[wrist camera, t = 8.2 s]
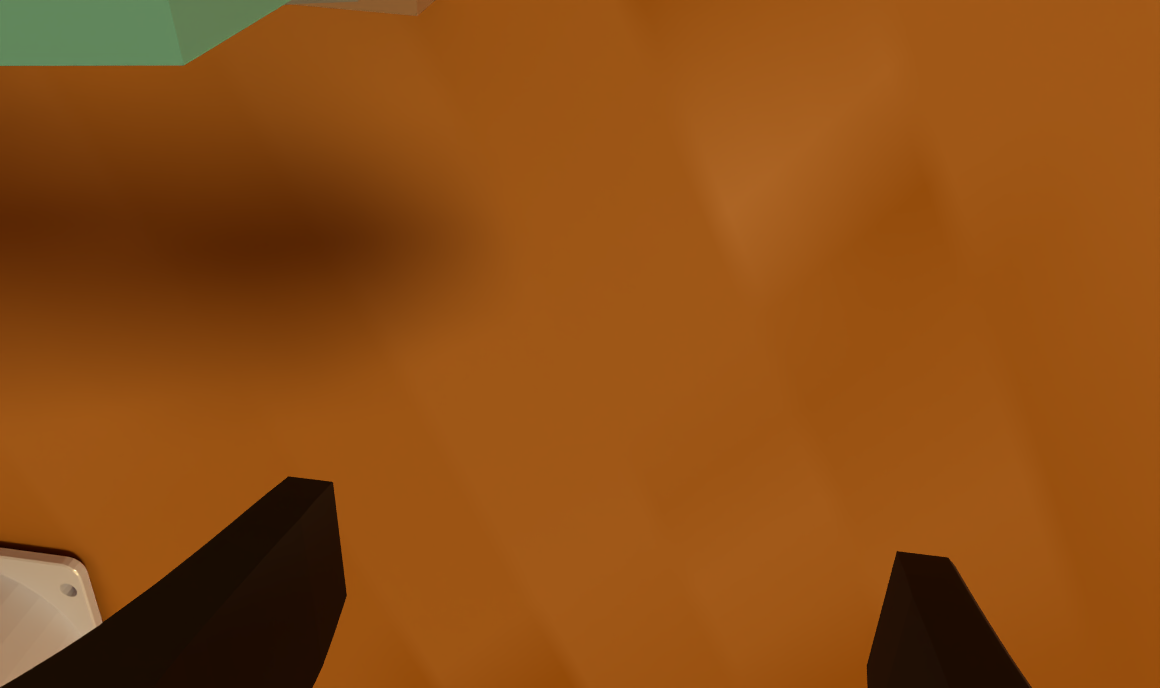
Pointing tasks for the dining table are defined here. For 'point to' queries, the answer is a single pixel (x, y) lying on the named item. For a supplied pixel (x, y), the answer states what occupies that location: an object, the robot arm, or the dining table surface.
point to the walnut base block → (380, 6)
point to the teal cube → (120, 30)
